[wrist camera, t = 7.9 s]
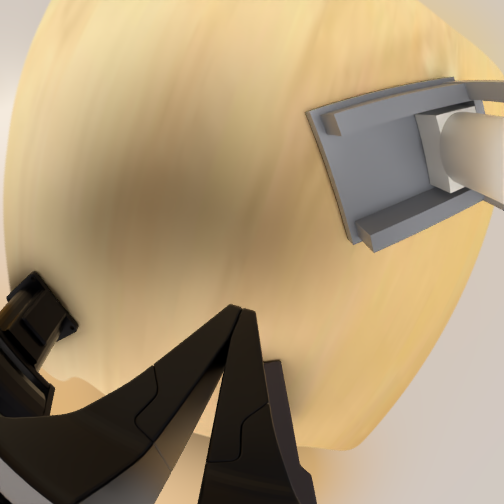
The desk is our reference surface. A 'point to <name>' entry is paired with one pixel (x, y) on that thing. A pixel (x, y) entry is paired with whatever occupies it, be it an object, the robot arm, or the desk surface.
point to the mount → (392, 158)
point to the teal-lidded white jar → (464, 149)
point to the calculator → (287, 433)
